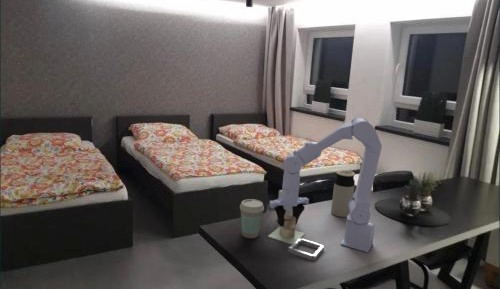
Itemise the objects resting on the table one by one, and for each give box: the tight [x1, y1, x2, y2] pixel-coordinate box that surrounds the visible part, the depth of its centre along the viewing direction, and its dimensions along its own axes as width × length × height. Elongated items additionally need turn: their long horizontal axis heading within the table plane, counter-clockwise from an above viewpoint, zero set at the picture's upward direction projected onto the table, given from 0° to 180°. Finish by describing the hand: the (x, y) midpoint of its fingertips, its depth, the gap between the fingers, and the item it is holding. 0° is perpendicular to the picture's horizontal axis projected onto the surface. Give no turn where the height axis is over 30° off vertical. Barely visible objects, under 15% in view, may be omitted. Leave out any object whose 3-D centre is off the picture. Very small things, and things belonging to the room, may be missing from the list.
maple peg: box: [279, 214, 297, 238], centre depth 134 cm, size 4×4×7 cm
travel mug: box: [330, 169, 356, 218], centre depth 156 cm, size 8×8×18 cm
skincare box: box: [276, 189, 293, 221], centre depth 147 cm, size 6×4×12 cm
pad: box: [267, 226, 306, 246], centre depth 135 cm, size 10×10×1 cm
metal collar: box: [288, 238, 325, 261], centre depth 125 cm, size 9×9×2 cm
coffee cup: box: [239, 198, 265, 239], centre depth 133 cm, size 9×9×12 cm
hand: (287, 224), depth 134 cm, fingers open, 5 cm apart
